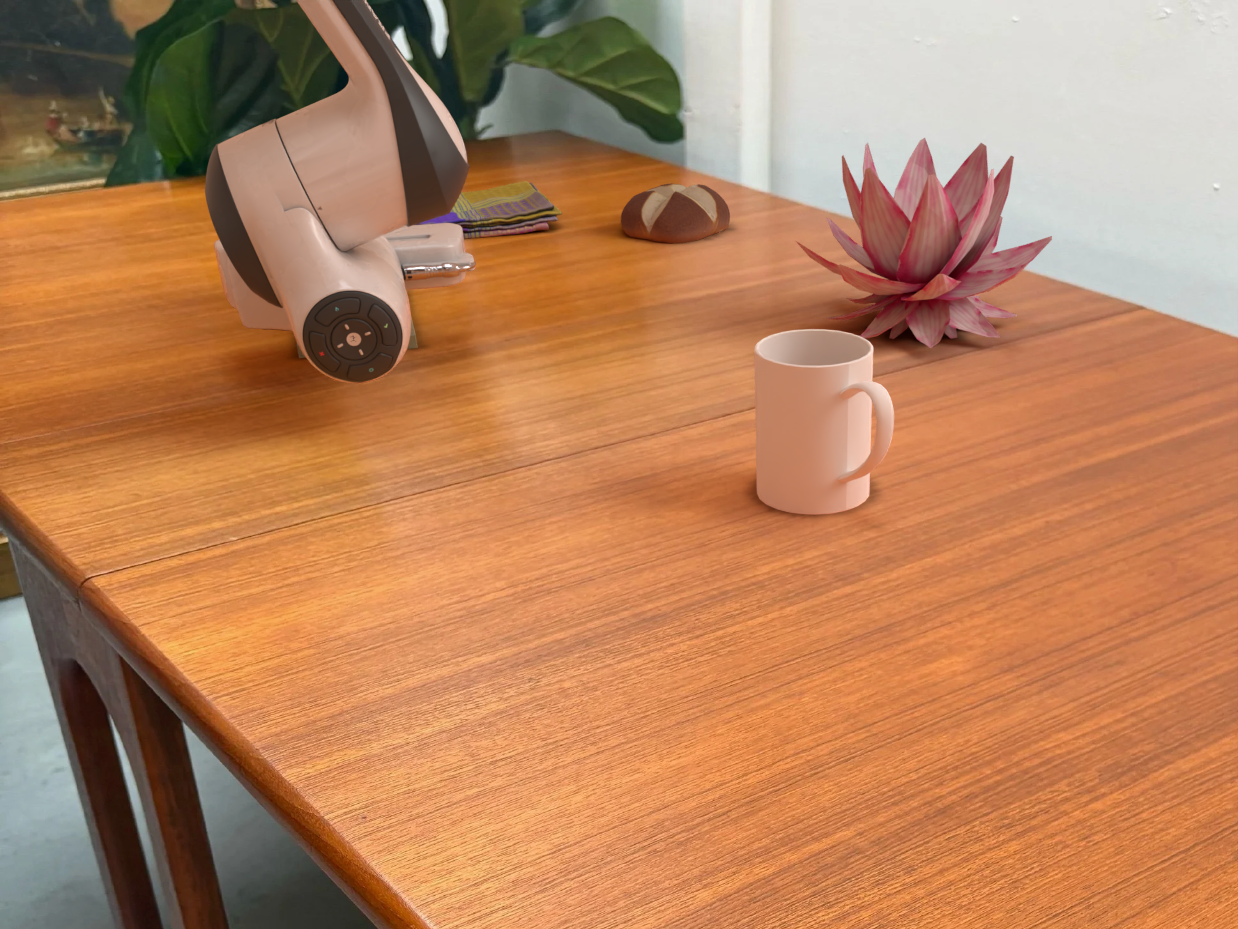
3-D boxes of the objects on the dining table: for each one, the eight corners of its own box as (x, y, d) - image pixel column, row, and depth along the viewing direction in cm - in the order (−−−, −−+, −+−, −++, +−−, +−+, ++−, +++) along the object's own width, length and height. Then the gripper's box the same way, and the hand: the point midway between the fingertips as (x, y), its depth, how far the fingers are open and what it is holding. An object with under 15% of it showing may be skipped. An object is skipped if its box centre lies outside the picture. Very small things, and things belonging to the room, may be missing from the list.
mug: (735, 490, 106) (731, 342, 100) (826, 466, 110) (828, 321, 104) (835, 551, 98) (837, 393, 92) (930, 523, 101) (938, 369, 96)
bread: (746, 229, 166) (745, 182, 164) (680, 251, 159) (678, 202, 156) (668, 215, 172) (666, 169, 169) (601, 236, 164) (598, 188, 161)
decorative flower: (760, 318, 139) (757, 144, 131) (953, 287, 148) (962, 121, 139) (880, 386, 124) (885, 194, 115) (1088, 347, 132) (1107, 164, 124)
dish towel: (328, 214, 173) (323, 188, 171) (539, 198, 179) (537, 174, 177) (336, 252, 159) (332, 225, 157) (565, 234, 165) (563, 208, 163)
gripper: (473, 229, 120) (457, 191, 131) (205, 248, 116) (212, 207, 127) (483, 308, 124) (466, 265, 135) (223, 330, 120) (228, 283, 131)
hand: (341, 237), depth 131 cm, fingers closed on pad, 3 cm apart
